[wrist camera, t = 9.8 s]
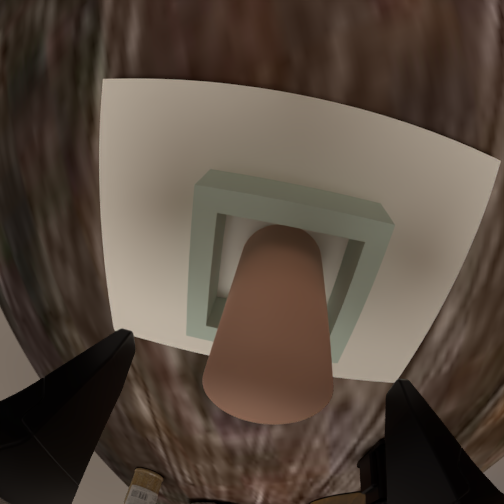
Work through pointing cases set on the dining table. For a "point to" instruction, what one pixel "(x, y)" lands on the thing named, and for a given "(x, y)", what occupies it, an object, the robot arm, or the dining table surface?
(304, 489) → the dining table surface
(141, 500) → the sprinkles bottle
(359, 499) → the wooden container
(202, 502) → the sea urchin shell
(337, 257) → the socket board
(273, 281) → the terracotta peg
